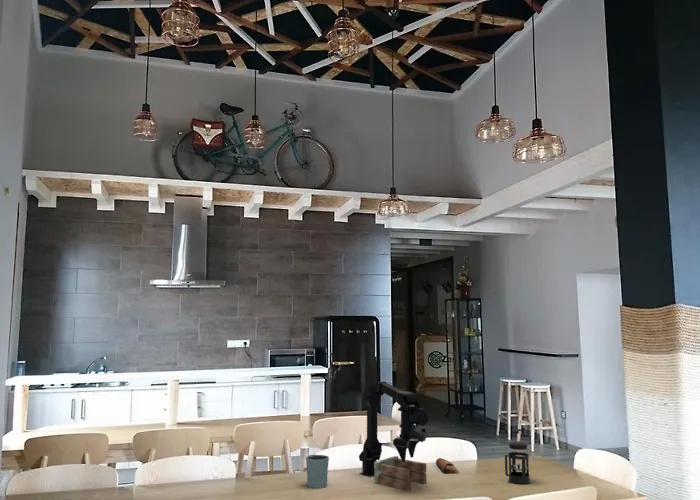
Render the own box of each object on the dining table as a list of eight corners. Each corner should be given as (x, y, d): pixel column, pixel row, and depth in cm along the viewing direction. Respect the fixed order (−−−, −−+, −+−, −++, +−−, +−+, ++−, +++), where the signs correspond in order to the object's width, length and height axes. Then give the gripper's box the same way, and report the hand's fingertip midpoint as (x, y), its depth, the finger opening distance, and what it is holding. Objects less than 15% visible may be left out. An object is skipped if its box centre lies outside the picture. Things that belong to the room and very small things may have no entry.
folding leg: (380, 473, 246) (380, 464, 247) (383, 472, 248) (383, 463, 249) (406, 479, 237) (405, 470, 237) (409, 478, 239) (409, 469, 239)
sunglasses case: (461, 473, 264) (453, 461, 265) (448, 481, 264) (441, 469, 264) (452, 464, 282) (445, 452, 283) (440, 472, 281) (433, 460, 282)
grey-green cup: (311, 490, 237) (311, 460, 238) (301, 484, 246) (302, 455, 247) (332, 487, 241) (332, 458, 243) (322, 481, 250) (323, 453, 252)
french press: (524, 478, 257) (522, 426, 260) (535, 484, 248) (533, 430, 251) (501, 479, 255) (499, 427, 258) (511, 485, 245) (509, 431, 249)
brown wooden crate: (374, 483, 247) (374, 462, 249) (394, 475, 260) (394, 455, 261) (407, 490, 237) (406, 468, 238) (426, 482, 249) (426, 461, 250)
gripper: (416, 427, 233) (417, 466, 230) (432, 420, 249) (432, 457, 247) (392, 424, 238) (392, 463, 236) (409, 418, 254) (409, 454, 252)
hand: (407, 459), depth 242 cm, fingers open, 9 cm apart
